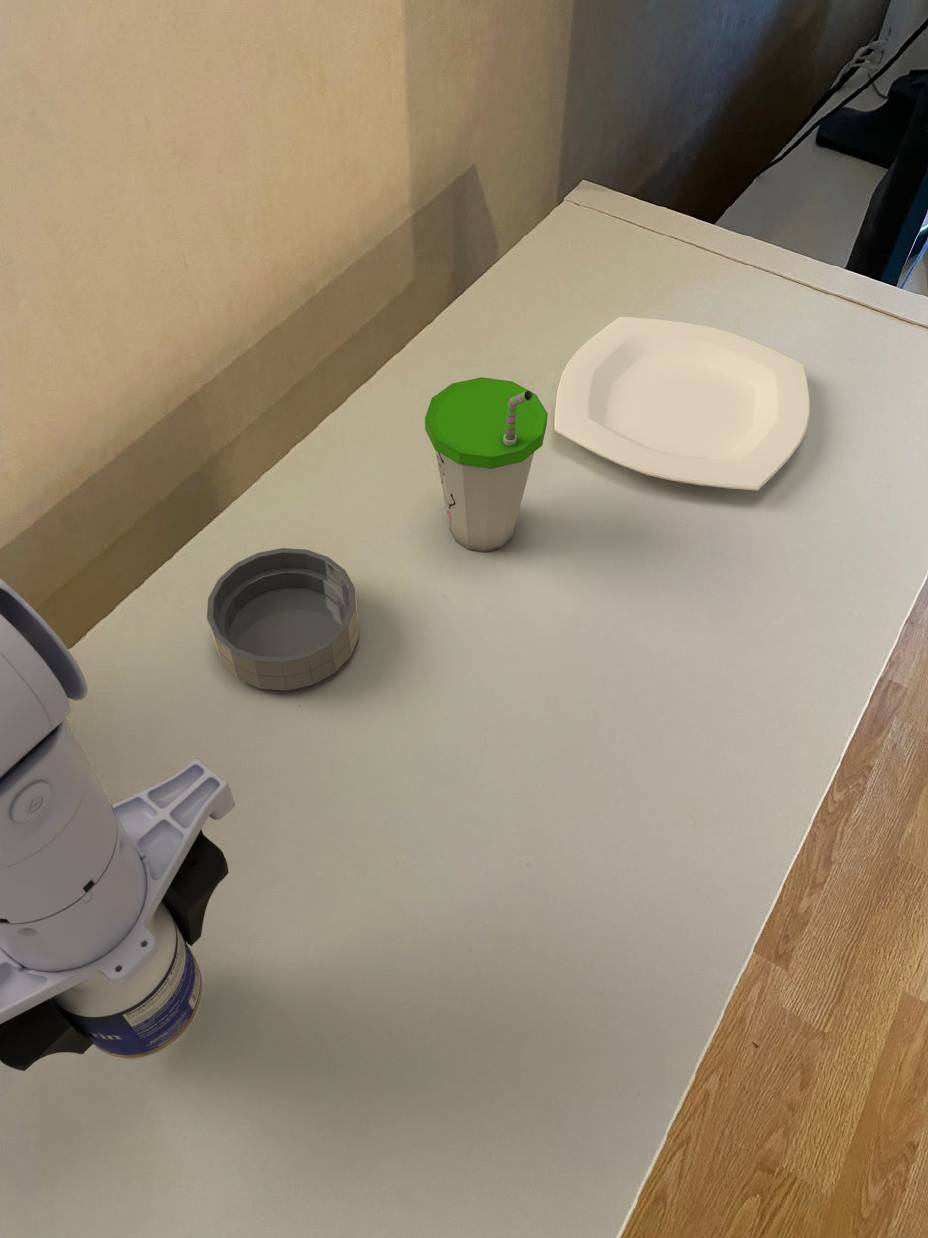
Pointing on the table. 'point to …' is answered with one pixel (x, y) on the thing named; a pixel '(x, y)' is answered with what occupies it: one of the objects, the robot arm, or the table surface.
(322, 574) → the bowl
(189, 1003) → the pill bottle
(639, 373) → the plate
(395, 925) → the table surface
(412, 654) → the table surface
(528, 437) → the cup
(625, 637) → the table surface
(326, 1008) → the table surface
